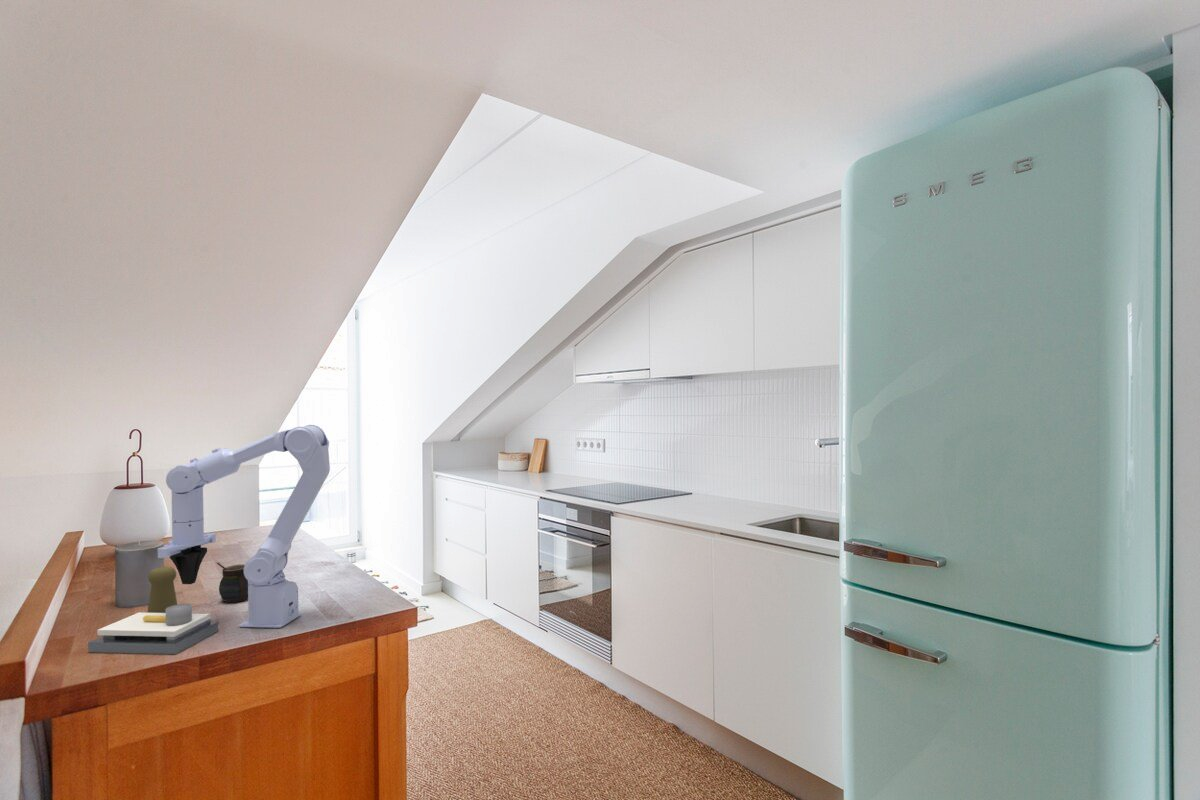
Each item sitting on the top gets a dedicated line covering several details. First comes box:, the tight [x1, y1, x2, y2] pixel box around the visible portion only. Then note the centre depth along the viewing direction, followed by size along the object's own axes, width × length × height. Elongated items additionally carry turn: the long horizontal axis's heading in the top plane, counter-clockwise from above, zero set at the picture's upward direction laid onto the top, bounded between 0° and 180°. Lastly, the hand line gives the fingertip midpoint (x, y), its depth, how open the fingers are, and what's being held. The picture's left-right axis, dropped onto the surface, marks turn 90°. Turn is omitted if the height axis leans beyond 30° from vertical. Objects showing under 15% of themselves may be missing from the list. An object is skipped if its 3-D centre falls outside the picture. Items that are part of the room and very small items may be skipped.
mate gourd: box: [216, 562, 248, 603], centre depth 153 cm, size 7×8×10 cm
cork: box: [146, 566, 178, 613], centre depth 142 cm, size 6×6×11 cm
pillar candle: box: [114, 539, 165, 608], centre depth 153 cm, size 10×10×15 cm
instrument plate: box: [96, 603, 211, 637], centre depth 127 cm, size 16×10×4 cm, turn 85°
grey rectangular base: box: [87, 618, 219, 655], centre depth 127 cm, size 18×12×3 cm, turn 85°
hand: (188, 583), depth 135 cm, fingers closed
